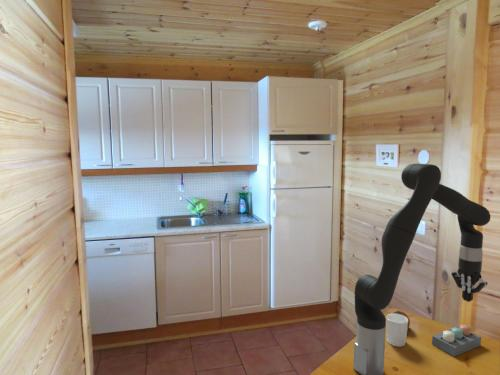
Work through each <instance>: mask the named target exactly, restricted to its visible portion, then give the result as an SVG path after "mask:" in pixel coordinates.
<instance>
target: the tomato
mask: <svg viewBox="0 0 500 375" xmlns="http://www.w3.org/2000/svg"><path fill="white" fill-rule="evenodd" d="M393 313H396V314H401V315H403V316H405V317H407V318H408V328H409V327H410V324H411V322H410V318H409V316H408V315H407V314H406V313H405V312H404V311H399V310H396V311H394V312H393ZM408 328H407V330H408Z"/></svg>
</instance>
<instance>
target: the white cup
mask: <svg viewBox="0 0 500 375" xmlns="http://www.w3.org/2000/svg"><path fill="white" fill-rule="evenodd" d="M385 318H386V328H385V329H386V341H387V343H388V344H390V345H391V346H393V347H404V346H405V345H406V344H407V343H406V341H407V336H408V335H407V334H408V329H407V328H409V327H408V318H409V317H408V318H407V317H405V316H403V315H401V314H396V313H394V312H391V313H389V314H387V315H386V316H385Z"/></svg>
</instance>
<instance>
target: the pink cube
mask: <svg viewBox="0 0 500 375" xmlns="http://www.w3.org/2000/svg"><path fill="white" fill-rule="evenodd" d="M459 326H460V329H462V330H463V336H465V337H469V336H471V332H472V327H471V326H470V325H468V324H463V323H462V324H459Z"/></svg>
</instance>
